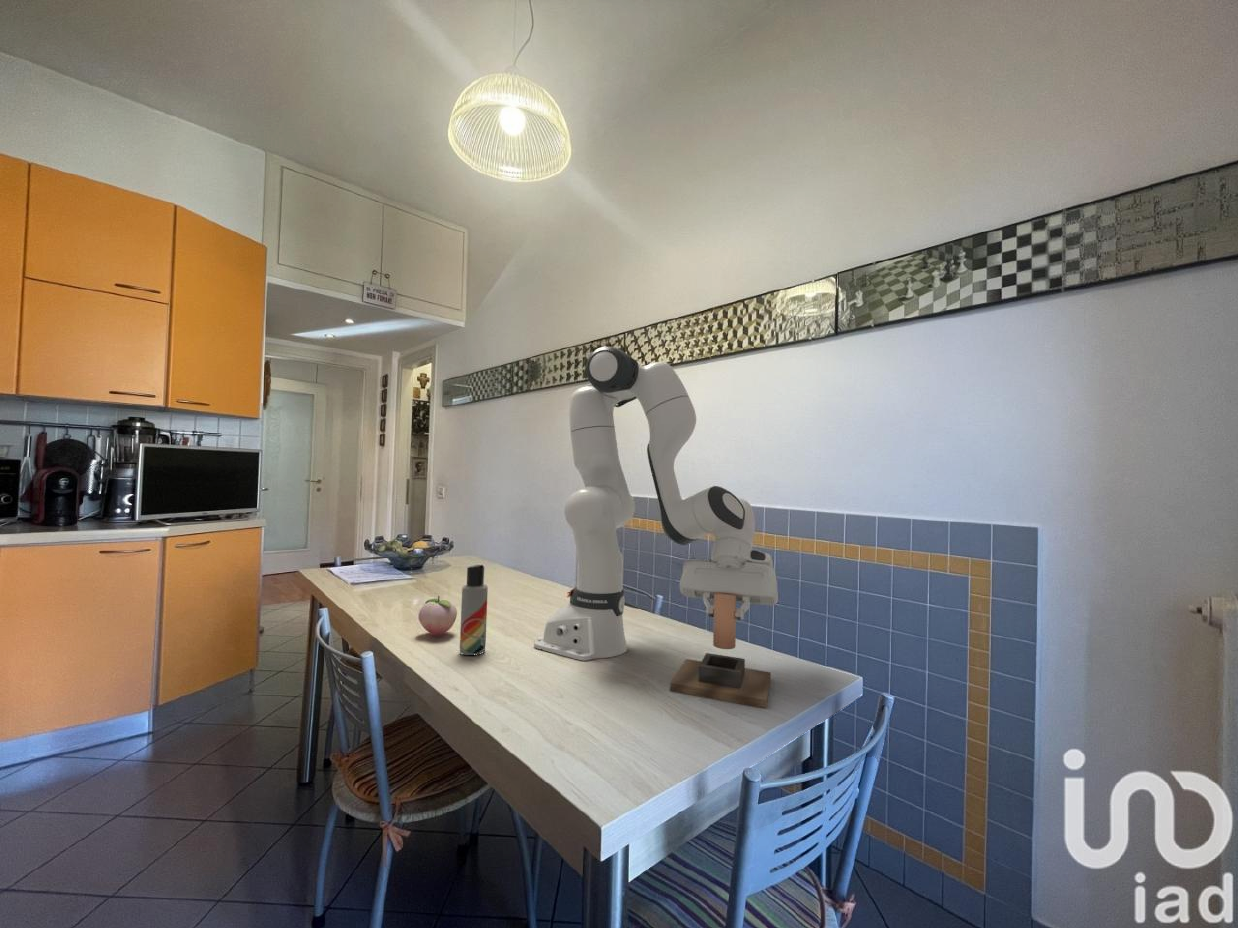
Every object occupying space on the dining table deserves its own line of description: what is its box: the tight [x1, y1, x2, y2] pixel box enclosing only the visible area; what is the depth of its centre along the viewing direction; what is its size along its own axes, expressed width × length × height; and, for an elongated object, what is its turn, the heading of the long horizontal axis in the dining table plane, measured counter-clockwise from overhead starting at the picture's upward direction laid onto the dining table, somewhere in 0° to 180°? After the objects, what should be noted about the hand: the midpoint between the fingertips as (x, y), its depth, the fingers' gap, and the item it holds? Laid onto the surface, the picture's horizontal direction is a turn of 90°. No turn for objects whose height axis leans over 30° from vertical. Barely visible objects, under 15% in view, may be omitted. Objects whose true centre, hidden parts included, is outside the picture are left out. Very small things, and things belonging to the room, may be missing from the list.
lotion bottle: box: [459, 564, 489, 656], centre depth 113 cm, size 6×6×20 cm
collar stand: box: [669, 652, 772, 709], centre depth 98 cm, size 18×14×4 cm
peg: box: [712, 593, 737, 650], centre depth 99 cm, size 4×4×10 cm
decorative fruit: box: [418, 595, 458, 636], centre depth 123 cm, size 9×8×10 cm
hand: (724, 616), depth 98 cm, fingers closed on peg, 4 cm apart
